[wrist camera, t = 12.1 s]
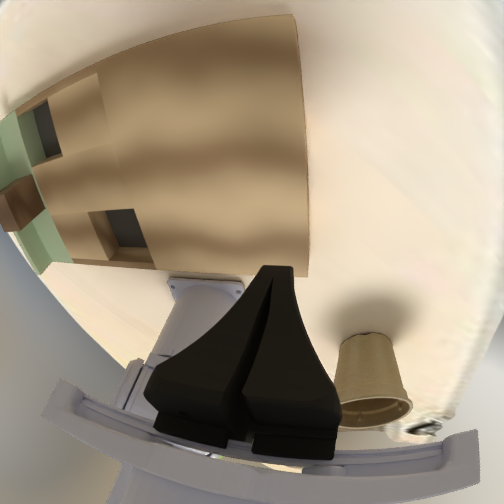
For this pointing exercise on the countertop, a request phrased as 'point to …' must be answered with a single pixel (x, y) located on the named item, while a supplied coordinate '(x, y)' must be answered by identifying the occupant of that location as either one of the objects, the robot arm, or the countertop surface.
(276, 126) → the box
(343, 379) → the flower pot
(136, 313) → the countertop surface
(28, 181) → the walnut block
